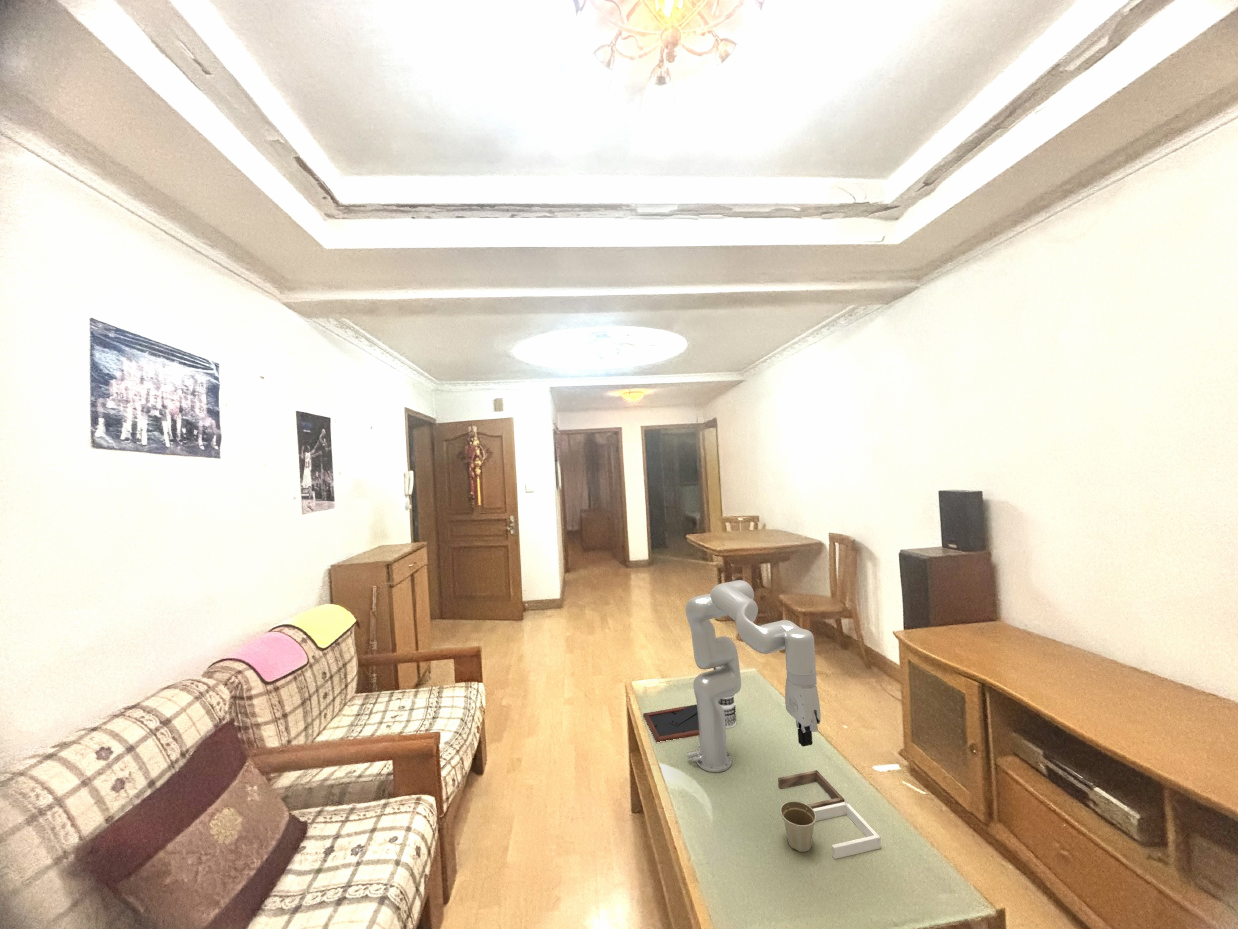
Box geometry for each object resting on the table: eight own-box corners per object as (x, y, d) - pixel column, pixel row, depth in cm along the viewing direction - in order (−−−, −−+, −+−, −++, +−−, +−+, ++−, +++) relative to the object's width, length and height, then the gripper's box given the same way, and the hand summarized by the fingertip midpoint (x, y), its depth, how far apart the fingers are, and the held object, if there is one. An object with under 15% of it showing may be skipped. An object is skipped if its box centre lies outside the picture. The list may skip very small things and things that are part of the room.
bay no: (802, 818, 143) (802, 808, 143) (778, 787, 157) (778, 778, 157) (844, 809, 145) (844, 799, 145) (817, 779, 159) (816, 770, 159)
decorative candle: (709, 720, 198) (706, 659, 198) (728, 714, 202) (724, 654, 201) (722, 731, 190) (719, 668, 189) (741, 724, 193) (738, 663, 193)
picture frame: (699, 707, 209) (643, 717, 204) (698, 703, 209) (643, 712, 204) (717, 733, 189) (656, 744, 184) (717, 728, 189) (656, 739, 184)
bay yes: (834, 859, 128) (834, 848, 128) (804, 820, 142) (804, 810, 142) (880, 848, 131) (880, 837, 131) (847, 811, 144) (846, 801, 144)
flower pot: (801, 863, 127) (799, 831, 127) (774, 839, 136) (772, 809, 136) (825, 848, 132) (823, 817, 132) (798, 825, 140) (796, 796, 140)
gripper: (774, 667, 137) (778, 731, 137) (805, 691, 122) (809, 763, 122) (798, 663, 138) (801, 727, 138) (831, 686, 124) (835, 757, 124)
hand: (805, 744), depth 130 cm, fingers closed
